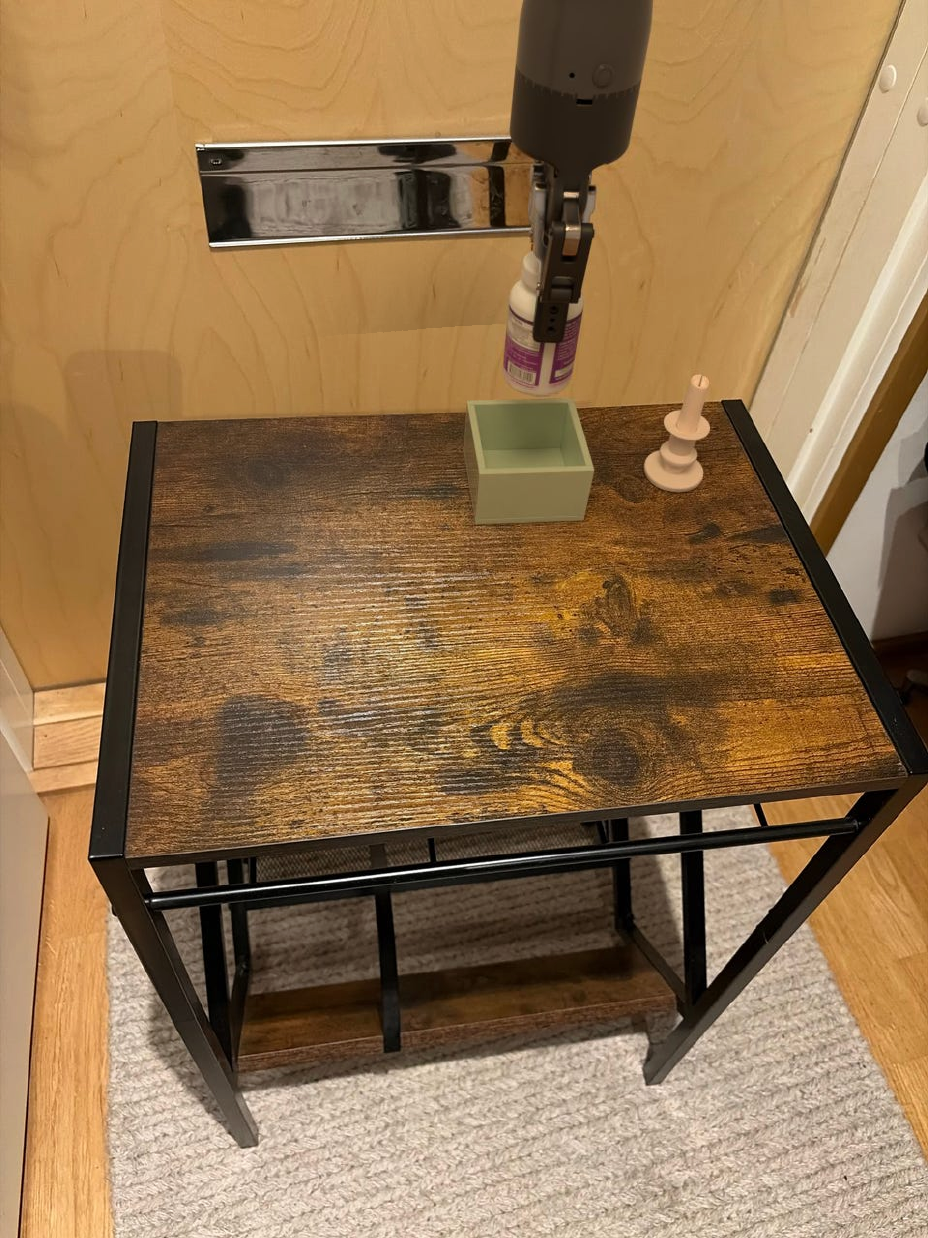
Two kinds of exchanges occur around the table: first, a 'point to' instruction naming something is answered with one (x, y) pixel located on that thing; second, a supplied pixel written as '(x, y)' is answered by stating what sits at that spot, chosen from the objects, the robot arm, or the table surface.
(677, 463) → the candle
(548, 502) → the green open box
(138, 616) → the table surface
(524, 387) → the pill bottle
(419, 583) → the table surface
